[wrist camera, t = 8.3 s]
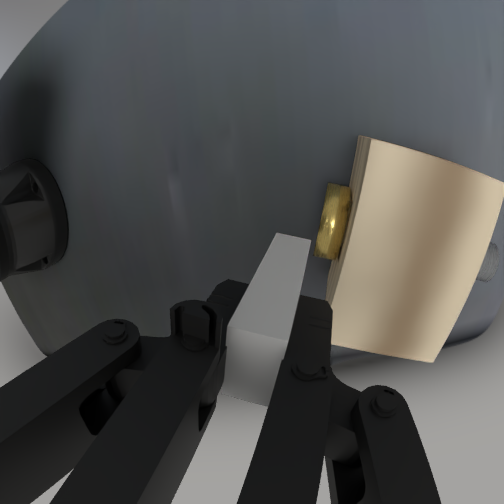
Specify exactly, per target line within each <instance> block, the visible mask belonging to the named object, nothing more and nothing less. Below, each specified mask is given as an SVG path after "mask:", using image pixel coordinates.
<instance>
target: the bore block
mask: <svg viewBox="0 0 504 504" xmlns="http://www.w3.org/2000/svg"><path fill="white" fill-rule="evenodd" d="M349 187H350V188H351V194H350V203H353V204H352V209H351V213H350V218H349V222H348V226H347V230H346V234H345V238H344V242H343V246H342V247H341V246H340V250H339V253H338V256H337V258H336V260H332V262H331V266H330V270H329V274H328V281H327V290H326V299H325V301H328V303H329V304H330V306H331V308H332V310H333V321H332V337H331V344H334V345H338V346H343V347H348V348H353V349H358V350H363V351H368V352H373V353H378V354H383V355H389V356H395V357H400V358H406V359H412V360H418V361H425V362H431V363H433V362H434V360H435V358H436V356H437V355H438V353H439V352H440V350H441V348H442V346H443V344H444V343H445V341H446V339H447V337H448V335H449V334H450V332H451V330H452V328H453V326H454V324H455V322H456V320H457V318H458V316H459V314H460V312H461V310H462V308H463V306H464V304H465V302H466V300H467V297H468V295H469V293H470V291H471V288H472V286H473V284H474V282H475V279H476V277H477V274H478V272H479V269H480V267H481V264H482V262H483V259H484V257H485V254H486V251H487V248H488V246H489V243H490V240H491V237H492V234H493V231H494V228H495V225H496V222H497V218H498V215H499V212H500V208H501V205H502V201H503V197H504V183H503V182H501V181H499V180H497V179H494V178H492V177H490V176H487V175H485V174H482V173H480V172H477V171H475V170H472V169H470V168H467V167H465V166H462V165H459V164H457V163H454V162H451V161H448V160H445V159H443V158H440V157H436V156H433V155H430V154H427V153H424V152H421V151H417V150H414V149H411V148H407V147H404V146H400V145H397V144H393V143H389V142H385V141H382V140H378V139H374V138H370V137H365V136H361V135H359V136H358V142H357V147H356V153H355V158H354V164H353V169H352V174H351V179H350V184H349Z"/></svg>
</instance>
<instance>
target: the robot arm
mask: <svg viewBox="0 0 504 504" xmlns="http://www.w3.org/2000/svg"><path fill="white" fill-rule="evenodd" d="M67 236H68V228H67V217H66V212H65V207H64V203H63V200H62V197H61V194H60V191H59V189H58V186H57V184H56V182H55V180H54V179H53V177H52V175H51V174H50V172H49V171H48V170H47V169H46V167H45V166H44V165H42V164H41V163H40V162H38V161H37V160H34V159H25V160H21V161H18V162H15V163H12V164H11V165H9V166H8V167H6V168H5V169H4V170H2V171H1V172H0V281H2V280H3V279H5V278H7V277H8V276H11V275H16V274H22V273H28V272H34V271H39V270H44V269H46V268H48V267H50V266H51V265H53V264H55V263H56V262H58V261H59V260H60V259H61V258H62V256H63V254H64V252H65V249H66V245H67ZM310 244H311V240H309V239H304V238H299V237H295V236H290V235H285V234H280V233H276V235H275V237H274V239H273V241H272V243H271V245H270V246H269V248H268V250H267V252H266V254H265V256H264V258H263V260H262V262H261V264H260V265H259V267H258V269H257V271H256V273H255V275H254V277H253V279H252V281H251V282H250V284H246V283H242V282H238V281H234V280H229V279H228V280H226V281H224V282H222V283H220V284H218V285H217V286H216V288H215V289H214V291H213V292H212V294H211V295H210V296H209V298H208V299H207V302H205V301H199V300H188V301H183V302H180V303H177V304H175V305H174V306H173V307H171V308H170V319H171V335H170V336H169V337H148V336H140V333H139V330H138V328H137V327H136V326H135V325H134V324H133V323H132V322H129V321H127V320H123V319H112V320H107V321H105V322H102V323H100V324H98V325H97V326H95V327H94V328H92V329H90V330H89V331H87V332H86V333H84V334H83V335H81V336H79V337H78V338H76V339H75V340H73V341H71V342H70V343H68V344H67V345H65V346H64V347H62V348H60V349H59V350H57V351H56V352H54V353H53V354H51V355H50V356H48V357H46V358H45V359H44V360H42V361H41V362H39V363H37V364H36V365H34V366H33V367H31V368H30V369H28V370H26V371H25V372H23V373H22V374H20V375H19V376H17V377H16V378H14V379H13V380H11V381H10V382H8V383H7V384H5V385H4V386H2V387H0V504H30V503H31V502H33V501H34V500H35V499H37V498H38V497H39V496H40V495H42V494H43V493H44V492H45V491H47V490H48V489H49V488H50V487H52V486H53V485H54V484H55V483H56V482H58V481H59V480H60V479H61V478H63V477H64V476H65V475H66V474H68V473H69V472H70V471H71V470H72V469H73V471H72V472H71V473H70V475H69V476H68V478H67V479H66V481H65V482H64V483H63V485H62V486H61V488H60V489H59V491H58V492H57V494H56V495H55V496H54V498H53V499H52V501H51V502H50V504H171V502H172V500H173V498H174V496H175V494H176V491H177V490H178V488H179V485H180V483H181V481H182V479H183V477H184V475H185V473H186V471H187V468H188V467H189V464H190V462H191V460H192V458H193V456H194V454H195V451H196V449H197V447H198V445H199V443H200V441H201V439H202V436H203V434H204V432H205V430H206V428H207V425H208V423H209V421H210V419H211V417H212V415H213V412H214V410H215V407H216V401H217V395H218V393H219V391H220V389H221V386H222V392H221V394H224V395H227V396H231V397H234V398H237V399H241V400H244V401H248V402H252V403H256V404H260V405H264V406H268V409H267V413H266V416H265V419H264V423H263V426H262V429H261V433H260V436H259V439H258V442H257V445H256V448H255V451H254V454H253V457H252V460H251V463H250V467H249V470H248V472H247V475H246V478H245V481H244V484H243V487H242V490H241V493H240V496H239V499H238V502H237V504H316V501H317V496H318V490H319V484H320V478H321V472H322V466H323V459H324V456H325V461H326V468H327V476H328V483H329V491H330V499H331V504H441V501H440V497H439V494H438V491H437V487H436V484H435V481H434V478H433V475H432V472H431V468H430V465H429V462H428V459H427V457H426V453H425V450H424V448H423V445H422V442H421V439H420V437H419V434H418V431H417V428H416V425H415V423H414V420H413V417H412V415H411V412H410V410H409V407H408V404H407V402H406V401H405V399H404V398H403V396H402V395H401V394H400V393H398V392H397V391H396V390H394V389H392V388H390V387H387V386H381V385H375V386H371V387H368V388H366V389H365V390H364V391H362V392H360V391H358V390H356V389H353V388H351V387H349V386H347V385H346V384H344V383H342V382H341V381H340V380H339V379H337V378H336V376H335V375H334V374H333V372H332V368H331V367H330V351H331V337H332V321H333V310H332V308H331V306H330V304H329V303H328V301H325V300H320V299H316V298H311V297H307V296H302V295H300V290H301V286H302V281H303V277H304V272H305V268H306V263H307V258H308V254H309V249H310Z"/></svg>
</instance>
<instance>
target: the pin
mask: <svg viewBox="0 0 504 504" xmlns="http://www.w3.org/2000/svg"><path fill="white" fill-rule="evenodd" d="M350 194H351V188H350V187H346V186H342V185H337V184H333V183H328V186H327V191H326V197H325V202H324V207H323V212H322V217H321V221H320V226H319V231H318V236H317V240H316V245H315V250H314V254H313V256H317V257H321V258H326V259H330V260H336V258H337V256H338V253H339V250H340V246H341V247H342V246H343V242H344V238H345V234H346V230H347V226H348V222H349V218H350V213H351V209H352V204H353V203H350ZM498 263H499V251H498V247H497V245H496V244H495V243H492V242H490V243H489V246H488V248H487V251H486V254H485V257H484V259H483V262H482V264H481V267H480V269H479V272H478V274H477V277H476V279H475V280H479V281H482V282H488V281H490V280H491V279H492V278H493V276H494V275H495V273H496V270H497V267H498Z"/></svg>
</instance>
